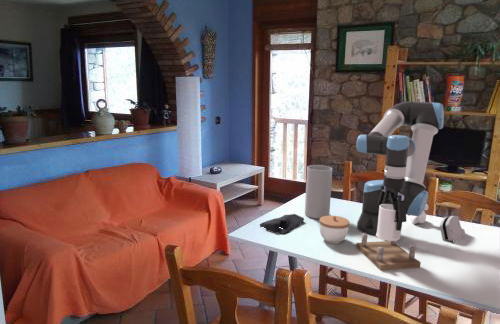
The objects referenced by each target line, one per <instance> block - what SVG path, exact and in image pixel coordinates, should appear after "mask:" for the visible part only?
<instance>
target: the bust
mask: <svg viewBox="0 0 500 324" xmlns="http://www.w3.org/2000/svg"><path fill="white" fill-rule="evenodd" d="M428 210H429V205H428V204H426V206H425V209H424V211H423V213H422V214H421V215H420V216H412V215H410V221H411V223H412V224H413V225H416V224H424V223H425V222H426V219H427V213H426V212H425V211H428Z"/></svg>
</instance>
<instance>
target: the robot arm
mask: <svg viewBox="0 0 500 324" xmlns="http://www.w3.org/2000/svg"><path fill="white" fill-rule="evenodd" d="M444 111H445V110H444V105H443V104H442V103H440V102H433V101H432V102H430V101H429V102H424V101H404V102H403V101H402V102H399V103H397V104H395V105H393V106H391V107H390V108H388V109H386V111H385V112H384V114H383V118H382V119H381V120H380V121H379V122H378V124H376V125H375V127H374V128H373V129H372V130H371V131H370V132H369V133H368V134H366V133H365V134H360V135H358V137H357V139H356V146H355V147H356V151H357V152H358V153H363V154H371V155H377V156H385V163H384V165H385V166H384V173H383V174H384V176H383V179H375V180H374V179H373V180H369V181H366V182H364V187H363V188H364V189H363V191H362V192H363V193H362V194H363V195H362V196H363V198H362V208H361V213H360V216H359V218H358V220H357V222H356V229H357V230H358V231H359V232H362V233H363V234H367V235H368V234H369V235H373V236H376V233H377V227H378V216H379V206H380V205H381V204H393V209H394V210H396V213H395V219H396V220H395V221H394V227H393V237H392V238H399V239H401V234H402V233H401V232H402V227H403V223H406V222H407V216H420V215H421V214H422V213H423V211H425V210H424V209H425V206H426V204H427V203H428V198H429V192H428V190H426V186H425V184H424V180H425V175H426V170H427V166H428V160H429V157H430V153H431V149H432V148H431V147H432V144H433V140H434V139H433V138H434V136H435V135H436V134H438V132H439V130H441V129H443V128H444V124H445V123H444V121H445V116H444V115H445V113H444ZM401 126H403V127H405V126H407V127H410V130H411V131H412V136H411V138H410V137H409V136H406V135H401V134H393V133H395V131H396V130H397V128H400V127H401ZM427 205H428V204H427Z"/></svg>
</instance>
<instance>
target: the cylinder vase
mask: <svg viewBox="0 0 500 324" xmlns="http://www.w3.org/2000/svg"><path fill="white" fill-rule="evenodd" d="M332 179H333V167H331V166H328V165H323V164H313V165H307V167H306V180H305V182H306V183H305V184H306V185H305V202H304V215H306V217H308V218H311V219H316V220H317V219H320V218H321V217H323V216H330V213H331V212H330V211H331V210H330V209H331V198H332V197H331V195H332Z"/></svg>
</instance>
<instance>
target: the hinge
mask: <svg viewBox="0 0 500 324" xmlns="http://www.w3.org/2000/svg"><path fill="white" fill-rule="evenodd" d="M439 229H440V234H441V239H442V241H443V242H446V241H452V242H453V244H457V242H458V241H459V240H460V239H462V238H463V237H464V235H466V231H465V228H462V226H461V222H460V219H459V216H458V215H449V216H445V217H443V218H442V220H441V221H440V223H439Z"/></svg>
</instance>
